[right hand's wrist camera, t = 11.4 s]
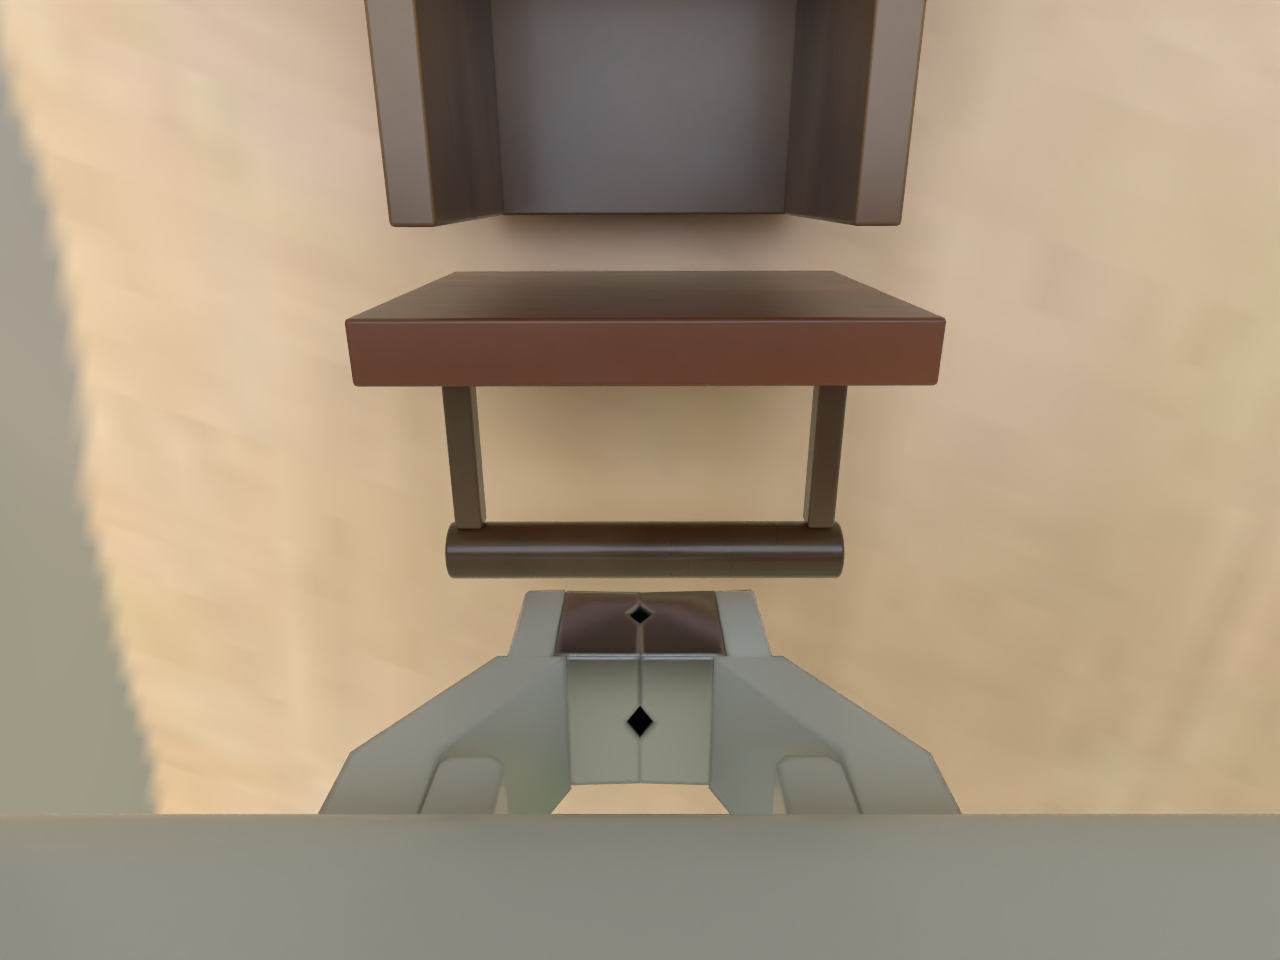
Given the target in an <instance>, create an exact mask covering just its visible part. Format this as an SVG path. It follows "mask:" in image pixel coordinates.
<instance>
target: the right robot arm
mask: <svg viewBox="0 0 1280 960" xmlns="http://www.w3.org/2000/svg"><path fill="white" fill-rule="evenodd" d="M623 783H655V784H691V785H709V789H710V790H711V791H712V792H713V794H714V795H715V796H716V797H717V798H718V800H719V801H720V802H721V803H722V805H723V806H724V807H725V808H726V809H727V811H728V812H729V813H730V814H551V813H552V811H553V810H554V809H555V808H556V806H557V805H558V804H559V803H560V802H561V800H562V799H563V798H564V797H565V796H566V794H567V793H568V792H569V791H570V789H571V785H588V784H623ZM0 960H1280V814H962V813H961V811H960V809H959V807H958V805H957V803H956V801H955V799H954V798H953V796H952V794H951V792H950V790H949V788H948V786H947V784H946V782H945V780H944V778H943V776H942V774H941V772H940V770H939V769H938V767H937V765H936V763H935V761H934V759H933V757H932V755H931V753H929V752H928V751H926V750H925V749H923V748H922V747H920V746H919V745H917V744H916V743H914V742H913V741H911V740H910V739H908V738H907V737H905V736H903V735H902V734H900V733H899V732H897V731H896V730H894V729H893V728H891V727H890V726H888V725H887V724H885V723H884V722H882V721H881V720H879V719H878V718H876V717H875V716H873V715H872V714H870V713H868V712H867V711H865V710H864V709H862V708H861V707H859V706H858V705H856V704H855V703H853V702H852V701H850V700H849V699H847V698H846V697H844V696H843V695H841V694H840V693H838V692H837V691H835V690H833V689H832V688H830V687H829V686H827V685H826V684H824V683H823V682H821V681H820V680H818V679H817V678H815V677H814V676H812V675H811V674H809V673H808V672H806V671H805V670H803V669H802V668H800V667H798V666H797V665H795V664H794V663H792V662H791V661H789V660H788V659H786V658H785V657H783V656H772V653H771V650H770V646H769V643H768V640H767V636H766V633H765V629H764V626H763V622H762V619H761V616H760V612H759V609H758V605H757V602H756V599H755V595H754V592H752V591H751V590H737V591H715V592H714V591H684V592H642V593H640V592H599V591H567V592H565V591H564V590H547V591H529V592H527V593H526V594H525V598H524V601H523V605H522V608H521V612H520V615H519V619H518V622H517V625H516V629H515V632H514V636H513V639H512V643H511V646H510V650H509V653H508V656H497V657H495V658H494V659H492V660H491V661H489V662H488V663H486V664H485V665H483V666H481V667H480V668H478V669H477V670H475V671H474V672H472V673H471V674H469V675H468V676H466V677H465V678H463V679H462V680H460V681H459V682H457V683H455V684H454V685H452V686H451V687H449V688H448V689H446V690H445V691H443V692H442V693H440V694H439V695H437V696H436V697H434V698H433V699H431V700H429V701H428V702H426V703H425V704H423V705H422V706H420V707H419V708H417V709H416V710H414V711H413V712H411V713H410V714H408V715H407V716H405V717H404V718H402V719H400V720H399V721H397V722H396V723H394V724H393V725H391V726H390V727H388V728H387V729H385V730H384V731H382V732H381V733H379V734H378V735H376V736H374V737H373V738H371V739H370V740H368V741H367V742H365V743H364V744H362V745H361V746H359V747H358V748H356V749H355V750H353V751H352V752H350V754H349V756H348V758H347V760H346V762H345V764H344V765H343V767H342V769H341V771H340V773H339V775H338V777H337V779H336V781H335V783H334V784H333V786H332V788H331V790H330V792H329V794H328V796H327V798H326V800H325V802H324V804H323V805H322V807H321V809H320V811H319V813H318V814H0Z"/></svg>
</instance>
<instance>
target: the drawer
mask: <svg viewBox="0 0 1280 960" xmlns="http://www.w3.org/2000/svg"><path fill="white" fill-rule="evenodd" d="M364 3H365V12H366V21H367V30H368V38H369V47H370V56H371V65H372V73H373V82H374V91H375V100H376V108H377V117H378V126H379V135H380V143H381V152H382V161H383V169H384V178H385V187H386V196H387V204H388V213H389V222H390V224H391V226H393V227H435V226H441V225H447V224H452V223H458V222H464V221H470V220H476V219H481V218H487V217H493V216H499V215H706V214H787V215H793V216H799V217H806V218H812V219H818V220H824V221H830V222H837V223H843V224H849V225H855V226H897V225H900V223H901V218H902V209H903V200H904V192H905V183H906V174H907V165H908V157H909V148H910V139H911V131H912V122H913V113H914V104H915V96H916V87H917V78H918V69H919V61H920V52H921V43H922V34H923V26H924V17H925V8H926V0H364ZM945 325H946V320H945V318H943V317H941V316H938V315H936V314H933V313H931V312H929V311H926V310H924V309H921V308H919V307H917V306H914V305H912V304H910V303H907V302H905V301H902V300H900V299H898V298H895V297H893V296H891V295H888V294H886V293H883V292H881V291H879V290H876V289H874V288H871V287H869V286H867V285H864V284H862V283H860V282H857V281H855V280H852V279H850V278H848V277H845V276H843V275H840V274H838V273H836V272H833V271H591V272H454V273H452V274H450V275H447V276H445V277H443V278H440V279H438V280H436V281H434V282H431V283H429V284H427V285H424V286H422V287H420V288H417V289H415V290H413V291H411V292H408V293H406V294H404V295H401V296H399V297H397V298H395V299H392V300H390V301H388V302H385V303H383V304H381V305H378V306H376V307H374V308H372V309H369V310H367V311H365V312H362V313H360V314H358V315H356V316H353V317H351V318H349V319H346V321H345V327H346V334H347V342H348V349H349V356H350V363H351V370H352V377H353V383H354V385H355V386H358V387H391V386H442V394H443V404H444V414H445V424H446V435H447V445H448V455H449V465H450V475H451V485H452V496H453V506H454V516H455V522H453V523H451V525H450V527H449V529H448V532H447V537H446V547H445V557H446V566H447V571H448V574H449V576H450V577H451V578H837V577H839V576H840V575H841V572H842V569H843V564H844V540H843V534H842V530H841V527H840V525H839V523H838V522H835V521H834V519H835V509H836V498H837V488H838V478H839V468H840V457H841V447H842V437H843V427H844V416H845V406H846V396H847V386H888V385H935V384H937V381H938V375H939V367H940V360H941V353H942V346H943V339H944V332H945ZM476 386H814V390H813V402H812V415H811V427H810V439H809V451H808V464H807V476H806V488H805V501H804V513H803V518H804V520H805V521H654V522H485V520H486V508H485V496H484V484H483V472H482V460H481V447H480V435H479V423H478V411H477V398H476Z"/></svg>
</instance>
